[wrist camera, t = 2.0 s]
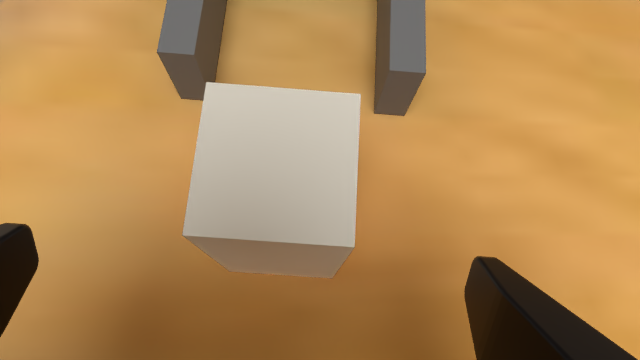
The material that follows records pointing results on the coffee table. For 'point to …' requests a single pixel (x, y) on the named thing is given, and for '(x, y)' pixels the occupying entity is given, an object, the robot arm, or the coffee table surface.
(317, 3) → the coffee table surface
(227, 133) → the white rectangular block
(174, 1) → the frame
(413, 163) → the coffee table surface
